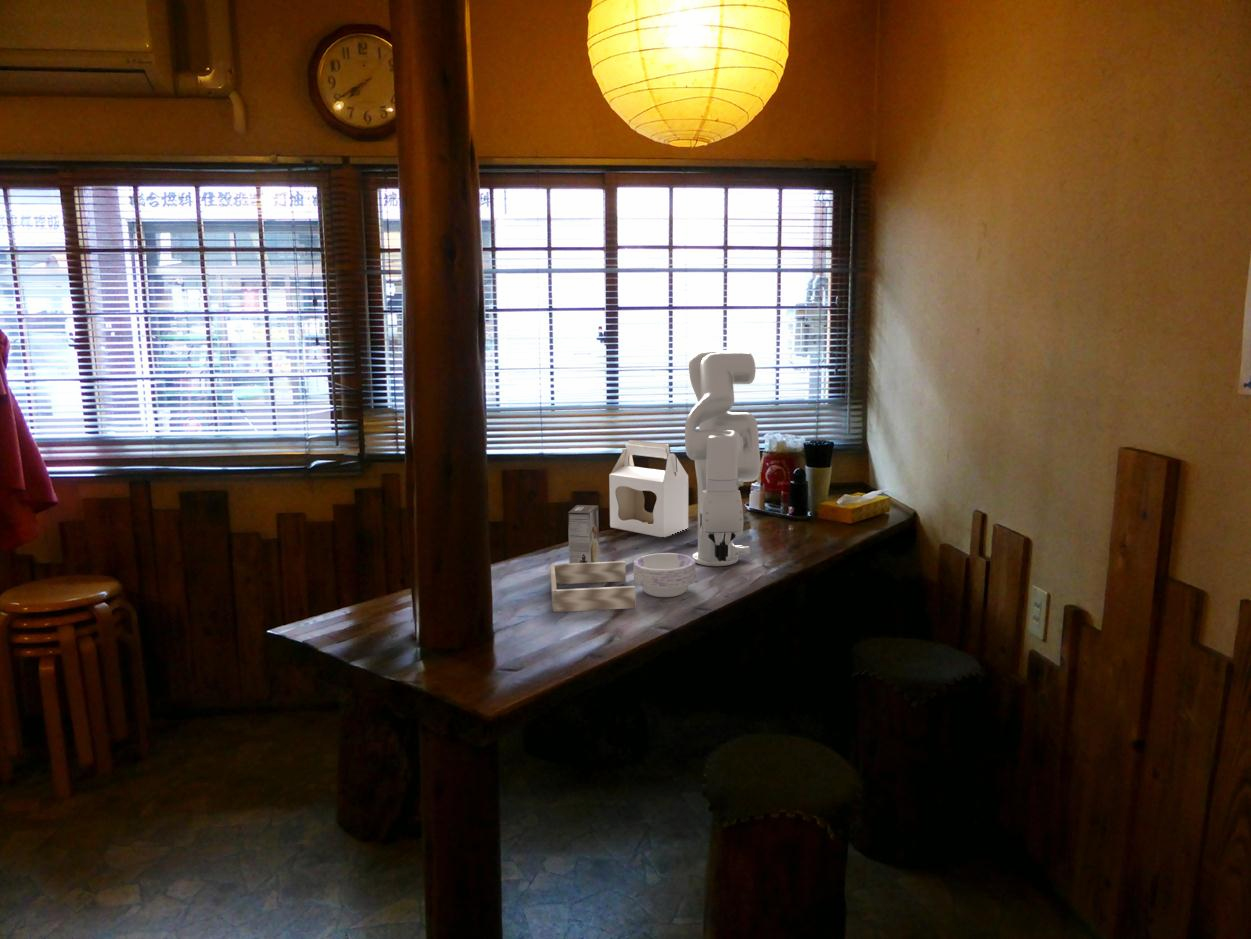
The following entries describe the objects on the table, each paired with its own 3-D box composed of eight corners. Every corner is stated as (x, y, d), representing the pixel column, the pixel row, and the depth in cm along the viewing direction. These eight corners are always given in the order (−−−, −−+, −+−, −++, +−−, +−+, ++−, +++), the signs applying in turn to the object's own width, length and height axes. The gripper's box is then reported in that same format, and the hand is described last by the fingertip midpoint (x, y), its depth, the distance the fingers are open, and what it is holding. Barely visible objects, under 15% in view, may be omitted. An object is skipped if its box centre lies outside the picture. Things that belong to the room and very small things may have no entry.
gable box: (609, 527, 260) (607, 441, 255) (634, 519, 270) (633, 436, 265) (664, 538, 246) (664, 447, 241) (689, 529, 256) (689, 442, 251)
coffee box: (577, 560, 224) (576, 504, 221) (600, 561, 222) (599, 505, 220) (568, 570, 215) (567, 512, 212) (592, 571, 214) (590, 512, 211)
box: (625, 579, 207) (625, 561, 206) (635, 608, 186) (635, 587, 185) (550, 583, 204) (550, 564, 204) (552, 612, 184) (552, 591, 183)
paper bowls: (624, 586, 201) (623, 556, 200) (679, 579, 207) (679, 549, 206) (648, 605, 187) (648, 573, 186) (706, 597, 193) (707, 565, 192)
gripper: (748, 482, 198) (747, 554, 201) (688, 484, 197) (688, 557, 199) (756, 487, 191) (755, 562, 194) (694, 489, 189) (694, 565, 192)
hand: (721, 559), depth 197 cm, fingers closed
